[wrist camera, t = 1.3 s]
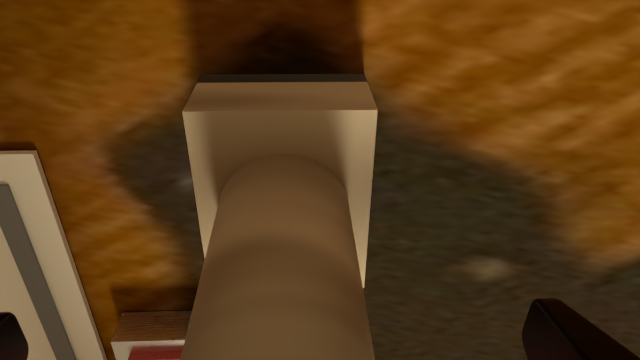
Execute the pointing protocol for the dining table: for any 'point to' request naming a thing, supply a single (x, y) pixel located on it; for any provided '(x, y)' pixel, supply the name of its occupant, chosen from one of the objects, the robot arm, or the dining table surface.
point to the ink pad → (150, 335)
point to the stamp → (281, 215)
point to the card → (41, 267)
